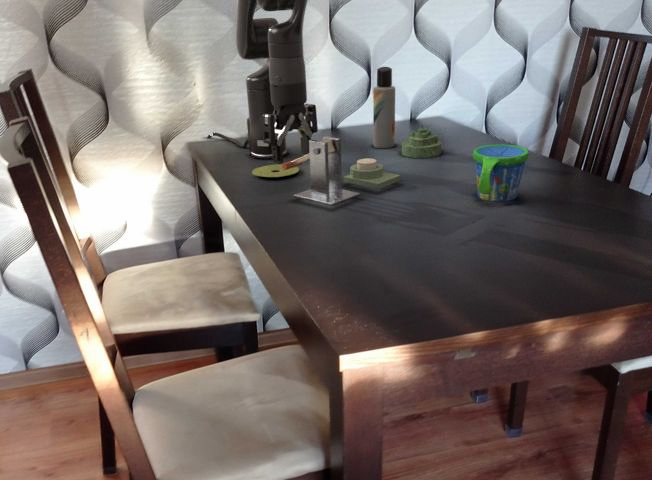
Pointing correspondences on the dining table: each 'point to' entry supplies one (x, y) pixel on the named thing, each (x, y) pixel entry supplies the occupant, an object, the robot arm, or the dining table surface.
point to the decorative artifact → (421, 144)
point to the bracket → (326, 174)
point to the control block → (371, 177)
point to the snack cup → (499, 171)
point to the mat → (274, 171)
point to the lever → (305, 158)
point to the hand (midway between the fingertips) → (292, 158)
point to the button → (366, 164)
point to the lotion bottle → (384, 109)
